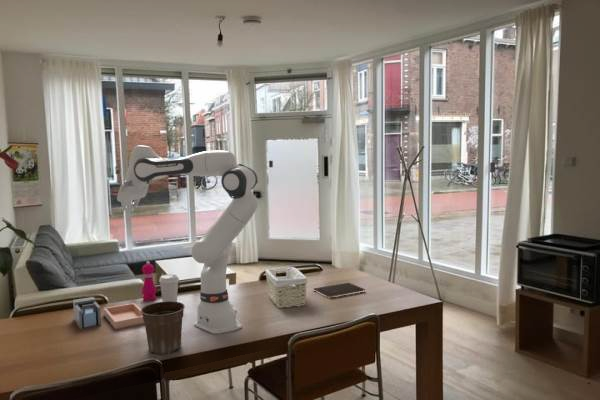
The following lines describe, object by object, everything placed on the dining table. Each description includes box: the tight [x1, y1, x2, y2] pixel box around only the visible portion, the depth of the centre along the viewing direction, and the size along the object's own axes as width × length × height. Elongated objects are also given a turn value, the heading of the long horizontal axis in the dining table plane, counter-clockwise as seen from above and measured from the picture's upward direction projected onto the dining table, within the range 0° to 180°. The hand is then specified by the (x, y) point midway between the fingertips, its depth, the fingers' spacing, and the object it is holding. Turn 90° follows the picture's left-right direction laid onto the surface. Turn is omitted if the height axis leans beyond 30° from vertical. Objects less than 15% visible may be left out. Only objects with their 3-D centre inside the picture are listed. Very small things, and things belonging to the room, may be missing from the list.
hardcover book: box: [313, 282, 366, 297], centre depth 260 cm, size 16×23×2 cm
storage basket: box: [265, 266, 308, 309], centre depth 244 cm, size 24×16×15 cm
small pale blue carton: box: [80, 303, 97, 328], centre depth 216 cm, size 12×5×10 cm, turn 34°
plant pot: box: [140, 301, 186, 355], centre depth 186 cm, size 16×16×16 cm
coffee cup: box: [158, 273, 180, 302], centre depth 237 cm, size 10×10×15 cm
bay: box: [72, 296, 102, 330], centre depth 216 cm, size 14×9×9 cm, turn 34°
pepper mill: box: [141, 260, 157, 302], centre depth 248 cm, size 7×7×20 cm
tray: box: [103, 302, 145, 330], centre depth 219 cm, size 22×14×4 cm, turn 34°
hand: (129, 208), depth 220 cm, fingers open, 8 cm apart
